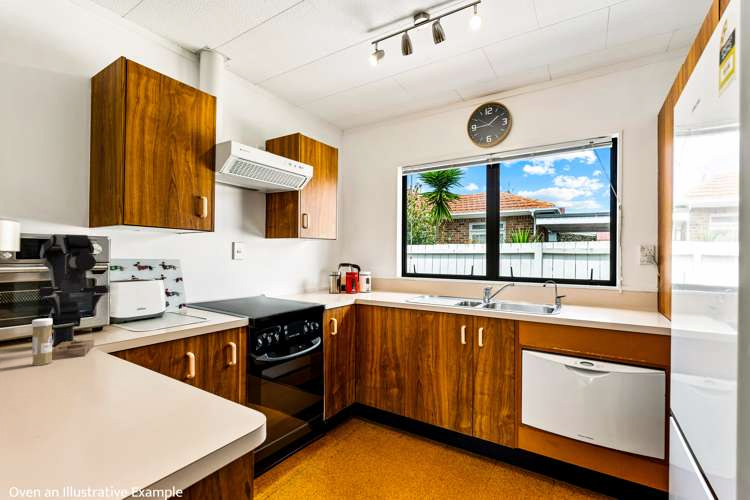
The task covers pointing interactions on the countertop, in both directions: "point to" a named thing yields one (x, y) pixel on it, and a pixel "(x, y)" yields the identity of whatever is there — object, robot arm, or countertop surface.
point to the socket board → (72, 349)
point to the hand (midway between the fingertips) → (75, 315)
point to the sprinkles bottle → (42, 341)
